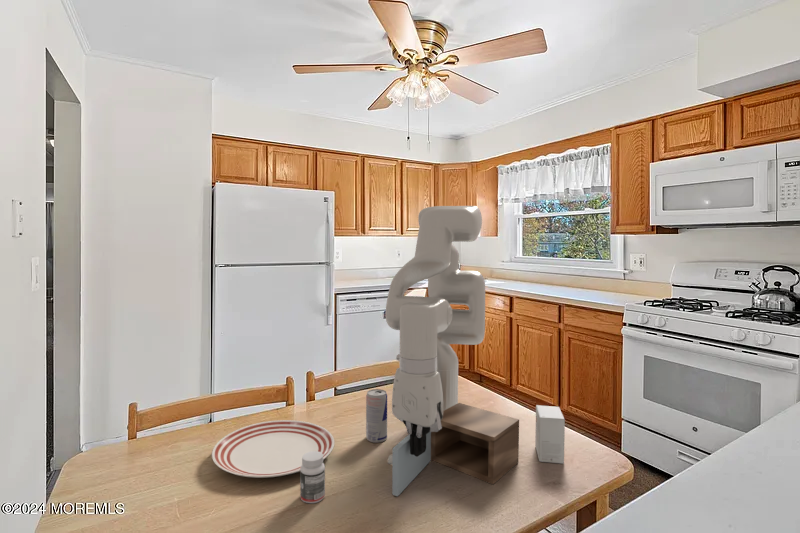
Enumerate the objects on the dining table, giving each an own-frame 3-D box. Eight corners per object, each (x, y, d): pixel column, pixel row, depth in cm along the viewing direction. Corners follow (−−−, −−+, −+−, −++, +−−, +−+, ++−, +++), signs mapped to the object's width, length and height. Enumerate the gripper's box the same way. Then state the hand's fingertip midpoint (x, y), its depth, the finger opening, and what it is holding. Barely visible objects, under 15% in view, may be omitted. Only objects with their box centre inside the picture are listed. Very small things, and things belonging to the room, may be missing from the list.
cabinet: (430, 459, 101) (431, 417, 100) (458, 441, 110) (459, 402, 109) (493, 484, 90) (494, 437, 90) (518, 462, 100) (519, 419, 99)
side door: (420, 457, 101) (420, 418, 100) (430, 460, 100) (431, 420, 99) (386, 492, 87) (386, 446, 86) (397, 496, 86) (397, 449, 85)
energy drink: (390, 435, 113) (390, 390, 113) (382, 444, 108) (382, 397, 108) (371, 432, 115) (371, 387, 114) (362, 441, 110) (362, 394, 109)
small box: (564, 464, 99) (565, 419, 98) (538, 462, 100) (539, 417, 99) (558, 448, 107) (559, 406, 106) (534, 446, 108) (535, 404, 107)
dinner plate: (355, 443, 109) (355, 430, 109) (283, 502, 84) (282, 486, 84) (270, 424, 121) (269, 412, 120) (183, 471, 96) (183, 456, 96)
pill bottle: (302, 490, 88) (301, 450, 88) (325, 489, 88) (325, 449, 88) (298, 504, 83) (298, 462, 83) (323, 503, 84) (323, 461, 83)
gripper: (377, 361, 89) (378, 448, 90) (438, 376, 80) (438, 473, 81) (401, 354, 95) (400, 436, 96) (460, 366, 86) (459, 457, 87)
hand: (417, 452), depth 89 cm, fingers closed
